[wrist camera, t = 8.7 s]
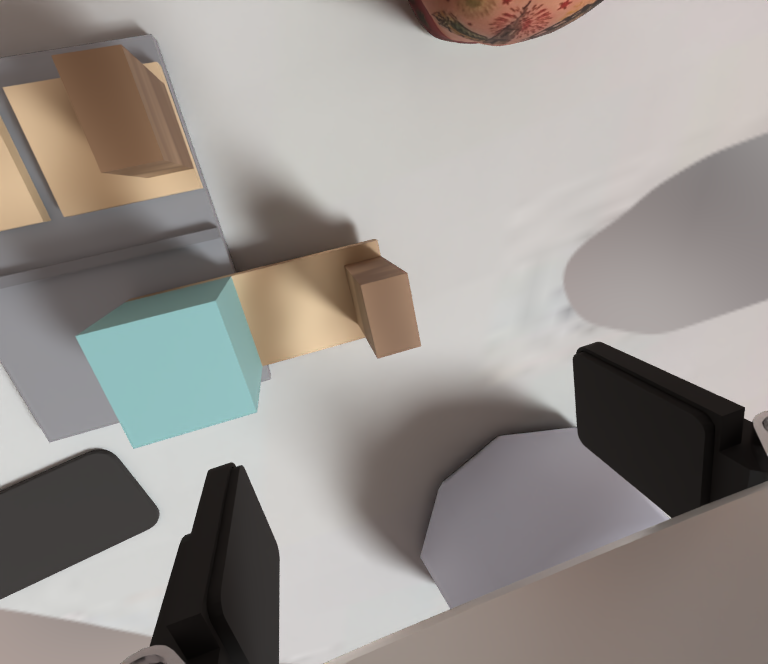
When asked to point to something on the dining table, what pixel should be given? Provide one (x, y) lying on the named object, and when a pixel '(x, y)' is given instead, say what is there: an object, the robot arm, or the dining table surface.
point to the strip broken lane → (78, 155)
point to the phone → (68, 517)
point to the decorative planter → (497, 18)
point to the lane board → (84, 260)
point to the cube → (176, 361)
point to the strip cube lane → (326, 303)
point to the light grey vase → (526, 513)
